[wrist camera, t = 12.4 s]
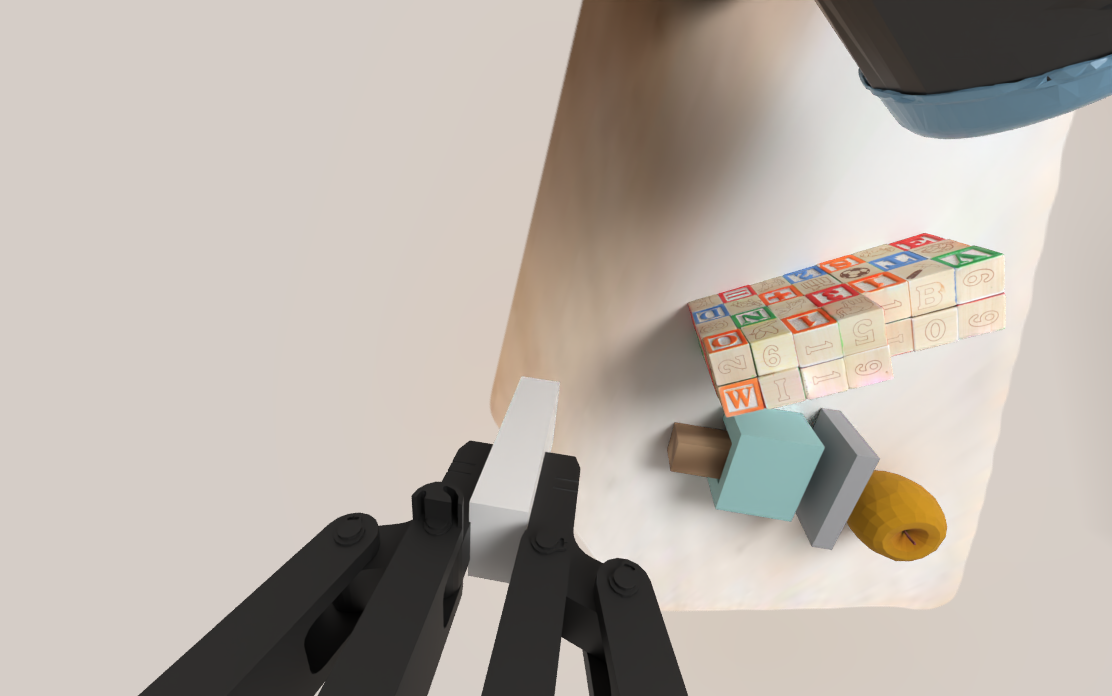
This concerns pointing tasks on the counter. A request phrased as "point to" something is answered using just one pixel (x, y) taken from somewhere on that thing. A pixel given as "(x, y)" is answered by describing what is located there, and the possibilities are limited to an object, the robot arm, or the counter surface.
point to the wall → (835, 479)
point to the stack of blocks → (845, 320)
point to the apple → (898, 518)
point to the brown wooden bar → (698, 450)
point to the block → (767, 464)
